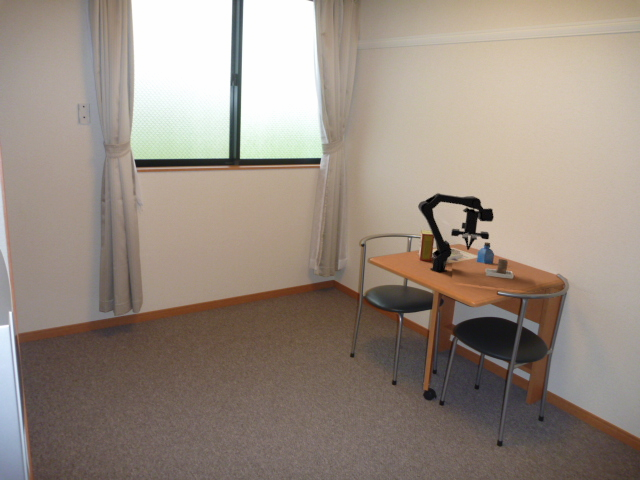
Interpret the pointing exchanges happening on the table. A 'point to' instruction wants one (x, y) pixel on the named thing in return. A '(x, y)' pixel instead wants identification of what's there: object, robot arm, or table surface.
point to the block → (502, 266)
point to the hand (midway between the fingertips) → (467, 249)
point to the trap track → (494, 273)
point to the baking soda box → (426, 245)
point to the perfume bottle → (485, 254)
